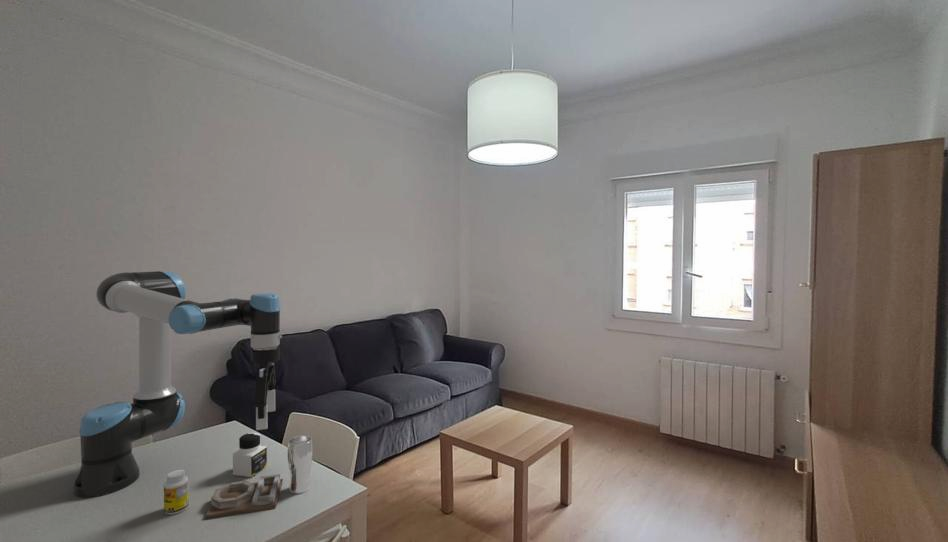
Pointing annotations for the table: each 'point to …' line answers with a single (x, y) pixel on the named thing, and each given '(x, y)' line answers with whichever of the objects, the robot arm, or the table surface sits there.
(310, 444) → the beer glass
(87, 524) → the table surface
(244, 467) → the medicine bottle
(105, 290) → the robot arm
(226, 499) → the socket board
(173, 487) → the supplement bottle
